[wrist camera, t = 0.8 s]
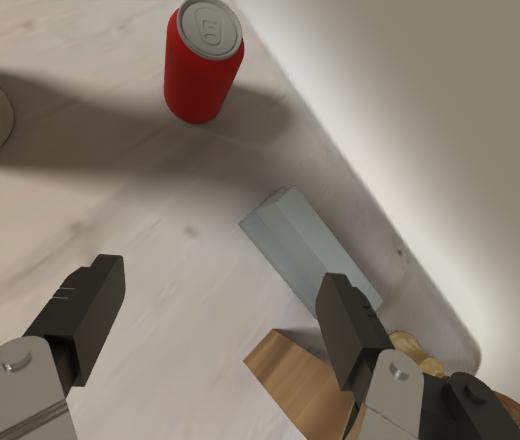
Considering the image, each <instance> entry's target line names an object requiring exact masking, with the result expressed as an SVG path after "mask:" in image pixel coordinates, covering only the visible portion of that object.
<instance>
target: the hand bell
mask: <svg viewBox="0 0 520 440" xmlns="http://www.w3.org/2000/svg"><path fill="white" fill-rule="evenodd" d="M388 336H389V338H390V340H391V342H392V343H393V345H394V347H395V349H396V350H397V351H399V352H402V353H404V354H405V355H407V356H408V357H410V358H411V359H412V360H413V361H414V362H415V363H416V364H417V365H418V366H419V368H420V369H421V371H422V372H424V373H427V374H430V375H433V376H436V377H439V378H442V379H445V380H448V379H449V378H450V377H449V376H446V375H444V369H443V367H442V365H441V363H440V362H439V361H438V360H437V359H435V358H433V357H431V356H429V355H428V354H426V353H424V352H423V351H422V350H421V347H420V345H419V344H418V342H417V341H416V340H415V338H414V337H413V336H411V335H410V334H408V333H406V332H401V331H398V332H394V333H392V334H390V335H388ZM492 391H493V390H492ZM493 392H494V394H495V395H496V396H497V397H498V399H499V400H500V402H501V403H502V404H503V406H504V407H505V408H506V410H507V411H508V413H509V414H510V415H511V417H512V418H513V419H514V421H515V422H516V424H517V425H518V426H519V427H520V404H518V403H517V402H515V401H514V400H512V399H510V398H509V397H507V396H505V395H503V394H500V393H498V392H495V391H493Z"/></svg>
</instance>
